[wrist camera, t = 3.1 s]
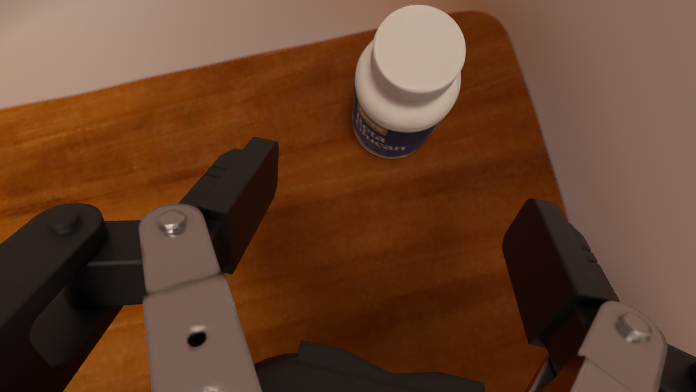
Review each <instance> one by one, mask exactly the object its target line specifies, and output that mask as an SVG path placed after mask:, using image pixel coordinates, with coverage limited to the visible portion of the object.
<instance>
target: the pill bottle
mask: <svg viewBox="0 0 696 392" xmlns="http://www.w3.org/2000/svg"><path fill="white" fill-rule="evenodd" d="M465 55H466V46H465V40H464V37H463V34H462V32H461V30H460V28H459V26H458V25H457V23H456V22H455V21H454V20H453V19H452V18H451V17H450V16H449V15H448V14H446V13H445V12H443V11H441V10H439V9H437V8H434V7H430V6H426V5H412V6H406V7H403V8H400V9H398V10H396V11H394V12H393V13H391V14H390V15H389V16H388V17H387V18H386V19H385V20H384V21H383V22H382V23H381V25H380V26H379V28H378V30H377V32H376V34H375V37H374V40H373V41H372V42H370V43H369V45H368V46H367V47H366V48H365V50H364V51H363V53H362V54H361V56H360V59H359V61H358V64H357V68H356V73H355V82H354V101H353V115H352V121H353V129H354V132H355V135H356V137H357V139H358V141H359V142H360V144H361V145H362V146H363V147H364V148H365V149H366V150H367V151H369V152H370V153H372V154H374V155H376V156H378V157H382V158H387V159H396V158H402V157H405V156H407V155H409V154H411V153H413V152H414V151H416V150H417V149H418V148H419V147H420V146H421V145H422V144H423V143H424V141H425V140H426V139H427V138H428V137H429V135H430V134H431V133H432V132H433V131H434V129H435V128H436V127H437V126H438V124H439V123H440V122H441V121H442V120H443V119H444V117H445V116H446V115H447V114H448V112H449V111H450V110H451V108H452V107H453V105H454V103H455V101H456V99H457V97H458V94H459V90H460V85H461V72H460V71H461V69H462V67H463V65H464V61H465Z"/></svg>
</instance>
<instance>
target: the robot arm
mask: <svg viewBox="0 0 696 392" xmlns="http://www.w3.org/2000/svg"><path fill="white" fill-rule="evenodd" d="M278 154H279V146H278V142H276V141H271V140H267V139H262V138H258V137H253V138H252V139H251V140H250V141H249V143H248V144H247V145H246V146H245V148H244V149H243V150H240V149H235V148H234V149H232V150H230V151H228V152H226V153H224V154H222V155H221V156H220V157H219V158H218V159H217V160H216V161H215V163H214V164H213V165H212V167H210V168H209V169H208V170H207V172H206V173H205V175H203V176H202V177H201V178H200V180H199V181H198V182H197V183H196V184H195V185H194V186H193V187H192V189H191V190H190V191H189V192H188V193H187V194H186V195H185V197H184V198H183V199H182V200H181V201H180V202H179V203H178V204H169V205H164V206H161V207H158V208H156V209H154V210H152V211H151V212H149V213H148V214H146V215H145V216H144V218H143V219H142V220H136V221H104V219H103V216H102V214H101V212H100V210H99V209H98V208H96V207H94V206H92V205H89V204H83V203H72V204H64V205H60V206H56V207H53V208H50V209H48V210H46V211H43V212H42V213H40V214H38V215H37V216H35V217H34V218H33V219H31V220H30V221H29V222H28V223H26V224H25V225H24V226H23V227H21V228H20V229H19V230H18V231H17V232H15V233H14V234H13V235H12V236H10V237H9V238H8V239H7V240H5V241H4V242H3V243H2V244H0V392H63V391H64V389H65V388H66V386H67V385H68V384H69V382H70V381H71V379H72V378H73V376H74V375H75V374H76V372H77V371H78V369H79V368H80V367H81V365H82V364H83V362H84V361H85V360H86V358H87V357H88V355H89V354H90V352H91V351H92V350H93V348H94V347H95V345H96V344H97V343H98V341H99V340H100V338H101V337H102V335H103V334H104V333H105V331H106V330H107V328H108V327H109V326H110V324H111V323H112V321H113V320H114V318H115V317H116V316H117V314H118V313H119V311H120V310H121V309H122V307H123V306H124V305H136V304H143V312H144V321H145V331H146V341H147V350H148V360H149V369H150V379H151V389H152V392H485V386H484V383H483V382H479V381H475V380H470V379H466V378H462V377H457V376H453V375H449V374H445V373H440V372H429V373H404V374H393V373H389V372H387V371H385V370H383V369H381V368H379V367H377V366H375V365H373V364H371V363H369V362H367V361H365V360H363V359H361V358H360V357H358V356H356V355H354V354H352V353H350V352H348V351H346V350H342V349H338V348H334V347H329V346H325V345H321V344H317V343H312V342H308V341H304V340H301V343H300V346H299V350H298V353H290V354H283V355H277V356H274V357H270V358H267V359H264V360H262V361H260V362H257V363H255V364H253V361H252V358H251V355H250V352H249V348H248V345H247V342H246V339H245V336H244V333H243V329H242V326H241V323H240V320H239V317H238V314H237V310H236V307H235V304H234V301H233V298H232V295H231V291H230V288H229V285H228V282H227V279H226V276H225V274H224V273H228V274H233V273H234V271H235V269H236V267H237V265H238V263H239V262H240V260H241V258H242V256H243V254H244V252H245V250H246V249H247V247H248V245H249V243H250V241H251V239H252V237H253V236H254V234H255V232H256V230H257V228H258V226H259V224H260V223H261V221H262V219H263V217H264V215H265V213H266V211H267V209H268V208H269V206H270V204H271V202H272V200H273V198H274V195H275V192H276V188H277V181H278ZM502 249H503V254H504V258H505V261H506V265H507V269H508V272H509V276H510V279H511V283H512V286H513V290H514V294H515V297H516V301H517V304H518V308H519V312H520V315H521V319H522V322H523V326H524V330H525V333H526V337H527V340H528V344H531V345H535V346H540V347H544V348H547V350H548V353H549V355H548V356H547V357H546V358H545V359H544V360H543V361H542V362H541V364H540V366H539V368H538V369H537V371H536V373H535V375H534V376H533V378H532V380H531V382H530V383H529V385H528V387H527V389H526V390H525V392H696V357H694V356H692V355H690V354H688V353H686V352H683V351H681V350H679V349H677V348H675V347H673V346H671V345H669V344H667V342H666V339H665V337H664V335H663V334H662V332H661V331H660V330H659V328H658V327H657V326H656V325H655V324H654V323H653V322H652V321H651V320H650V319H649V318H648V317H646V316H645V315H644V314H642V313H641V312H639V311H638V310H636V309H634V308H632V307H631V306H629V305H626V304H623V303H620V301H619V299H618V297H617V295H616V294H615V292H614V290H613V288H612V287H611V285H610V283H609V281H608V279H607V278H606V276H605V274H604V272H603V270H602V269H601V267H600V265H599V264H597V260H596V258H595V256H594V254H593V253H591V249H590V247H589V246H588V244H587V242H586V240H585V238H584V237H583V236H582V235H581V234H580V233H579V232H578V231H577V230H576V229H575V228H574V227H573V226H572V225H571V224H570V223H568V222H567V220H566V219H565V217H564V215H563V213H562V211H561V209H560V207H559V206H558V205H557V204H555V203H550V202H546V201H541V200H537V199H528V200H527V201H526V202H525V203H524V205H523V206H522V208H521V210H520V211H519V213H518V214H517V216H516V218H515V219H514V221H513V222H512V224H511V226H510V227H509V229H508V230H507V232H506V234H505V236H504V239H503V246H502ZM221 272H222V273H221ZM223 272H224V273H223Z"/></svg>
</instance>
